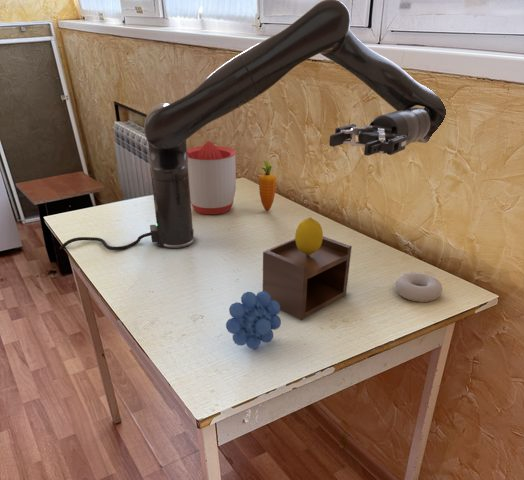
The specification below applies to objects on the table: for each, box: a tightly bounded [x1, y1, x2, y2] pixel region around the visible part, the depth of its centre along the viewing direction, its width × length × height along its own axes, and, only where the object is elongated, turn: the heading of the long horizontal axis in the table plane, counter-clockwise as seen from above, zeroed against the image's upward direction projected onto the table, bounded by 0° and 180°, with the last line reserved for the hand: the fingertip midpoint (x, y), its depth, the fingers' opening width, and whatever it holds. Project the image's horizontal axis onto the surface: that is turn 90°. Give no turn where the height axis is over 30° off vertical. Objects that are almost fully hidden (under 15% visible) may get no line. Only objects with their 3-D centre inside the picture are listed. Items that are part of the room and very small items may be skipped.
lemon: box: [294, 217, 324, 256], centre depth 100 cm, size 6×6×8 cm
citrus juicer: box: [187, 140, 237, 215], centre depth 148 cm, size 16×17×20 cm
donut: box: [394, 272, 443, 303], centre depth 109 cm, size 10×4×10 cm
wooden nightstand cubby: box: [262, 235, 352, 321], centre depth 104 cm, size 15×11×12 cm
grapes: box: [225, 290, 282, 350], centre depth 88 cm, size 12×7×12 cm, turn 125°
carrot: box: [258, 159, 277, 213], centre depth 148 cm, size 5×5×15 cm
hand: (348, 145), depth 97 cm, fingers open, 8 cm apart
